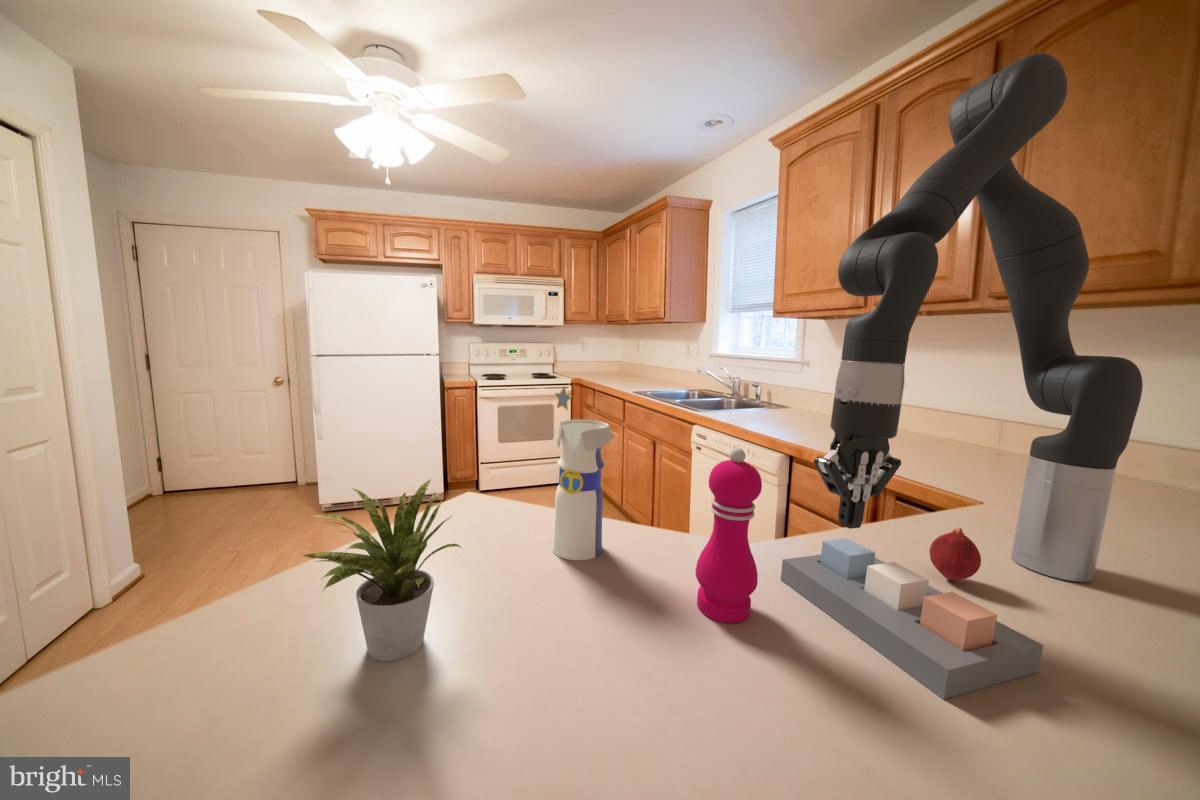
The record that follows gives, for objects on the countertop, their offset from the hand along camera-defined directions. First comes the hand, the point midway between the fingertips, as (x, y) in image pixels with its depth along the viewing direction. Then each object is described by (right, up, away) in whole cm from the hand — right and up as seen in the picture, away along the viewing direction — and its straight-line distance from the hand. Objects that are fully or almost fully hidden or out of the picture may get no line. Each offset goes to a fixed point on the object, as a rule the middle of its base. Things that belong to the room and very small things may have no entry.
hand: (849, 526), depth 61 cm
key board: (+2, -10, -6) cm, 11 cm away
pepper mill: (-18, -9, -5) cm, 21 cm away
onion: (+17, -9, +5) cm, 20 cm away
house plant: (-55, -8, -13) cm, 57 cm away
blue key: (0, -7, +1) cm, 7 cm away
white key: (+2, -8, -6) cm, 10 cm away
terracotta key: (+4, -9, -12) cm, 16 cm away
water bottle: (-37, -6, +8) cm, 38 cm away
